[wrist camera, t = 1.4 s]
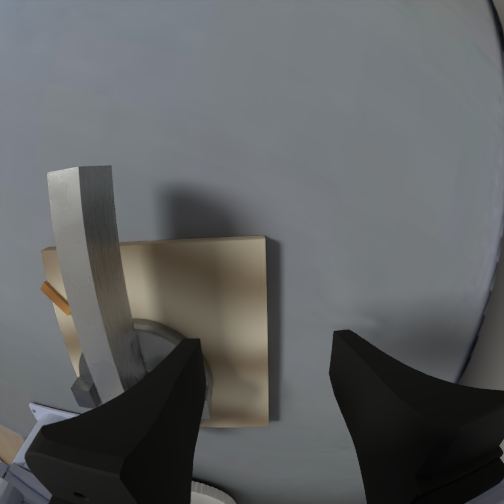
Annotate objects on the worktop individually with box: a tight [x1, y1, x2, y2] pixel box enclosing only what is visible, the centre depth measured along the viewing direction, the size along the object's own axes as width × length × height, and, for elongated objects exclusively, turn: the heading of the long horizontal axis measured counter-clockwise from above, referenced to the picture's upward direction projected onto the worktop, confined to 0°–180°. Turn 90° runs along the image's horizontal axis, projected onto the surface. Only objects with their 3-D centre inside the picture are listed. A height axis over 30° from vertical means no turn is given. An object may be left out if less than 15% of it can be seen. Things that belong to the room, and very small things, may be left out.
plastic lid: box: [191, 481, 236, 504], centre depth 27 cm, size 14×14×2 cm
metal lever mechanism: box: [47, 165, 213, 425], centre depth 16 cm, size 20×10×6 cm, turn 2°
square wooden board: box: [41, 235, 269, 427], centre depth 21 cm, size 16×17×1 cm
